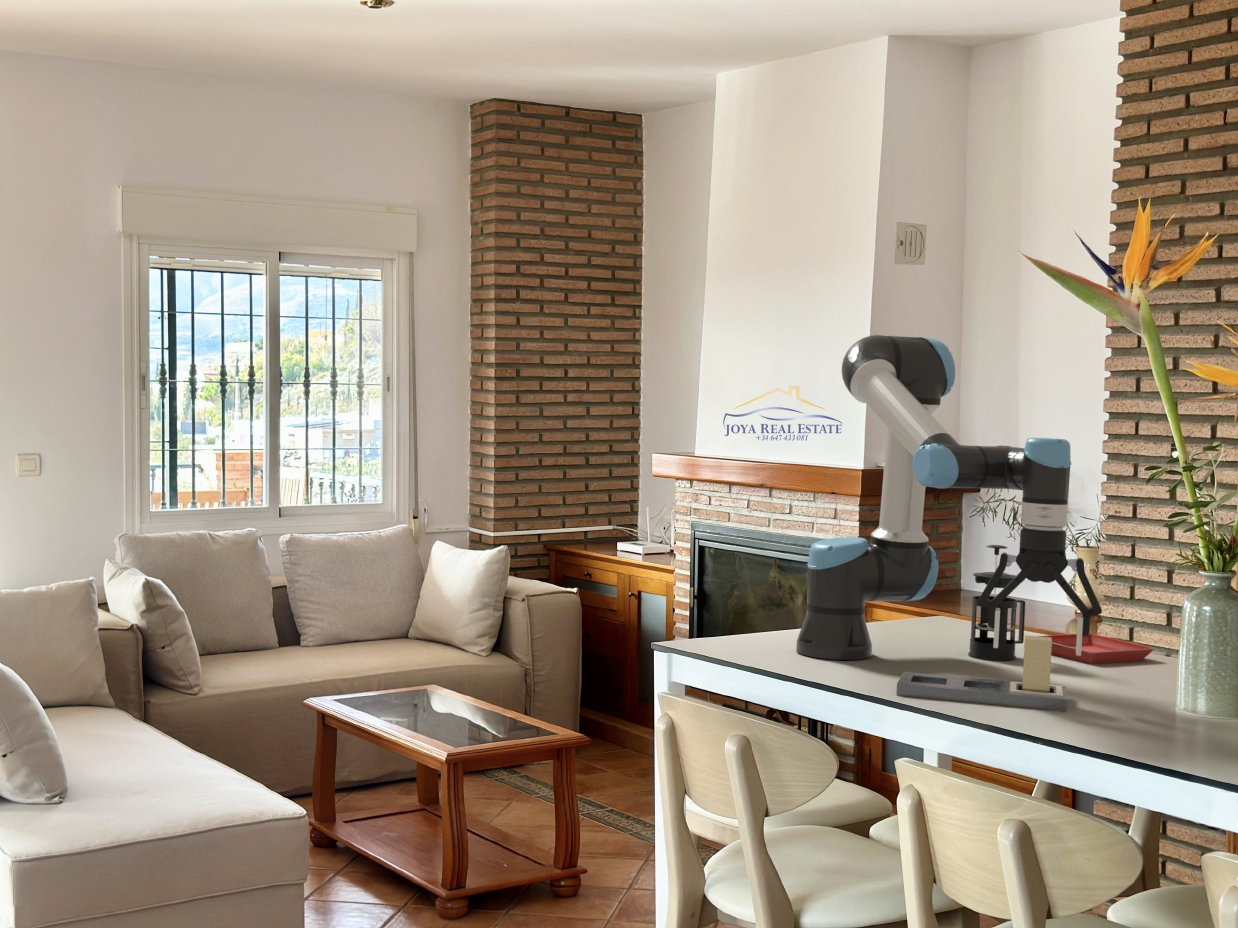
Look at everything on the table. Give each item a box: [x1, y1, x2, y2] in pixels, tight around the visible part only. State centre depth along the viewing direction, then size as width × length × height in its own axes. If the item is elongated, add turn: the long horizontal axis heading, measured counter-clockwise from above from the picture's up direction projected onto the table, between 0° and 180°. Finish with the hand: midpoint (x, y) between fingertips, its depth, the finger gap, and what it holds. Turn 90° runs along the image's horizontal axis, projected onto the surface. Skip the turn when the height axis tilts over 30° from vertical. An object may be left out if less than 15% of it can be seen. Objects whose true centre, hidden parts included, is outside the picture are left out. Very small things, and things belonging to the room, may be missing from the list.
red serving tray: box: [1039, 633, 1155, 665], centre depth 278 cm, size 18×18×3 cm
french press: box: [968, 544, 1026, 662], centre depth 272 cm, size 12×9×23 cm
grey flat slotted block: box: [896, 671, 1068, 712], centre depth 231 cm, size 28×12×2 cm, turn 73°
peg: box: [1022, 634, 1052, 693], centre depth 229 cm, size 4×4×11 cm
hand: (1036, 650), depth 229 cm, fingers open, 13 cm apart
